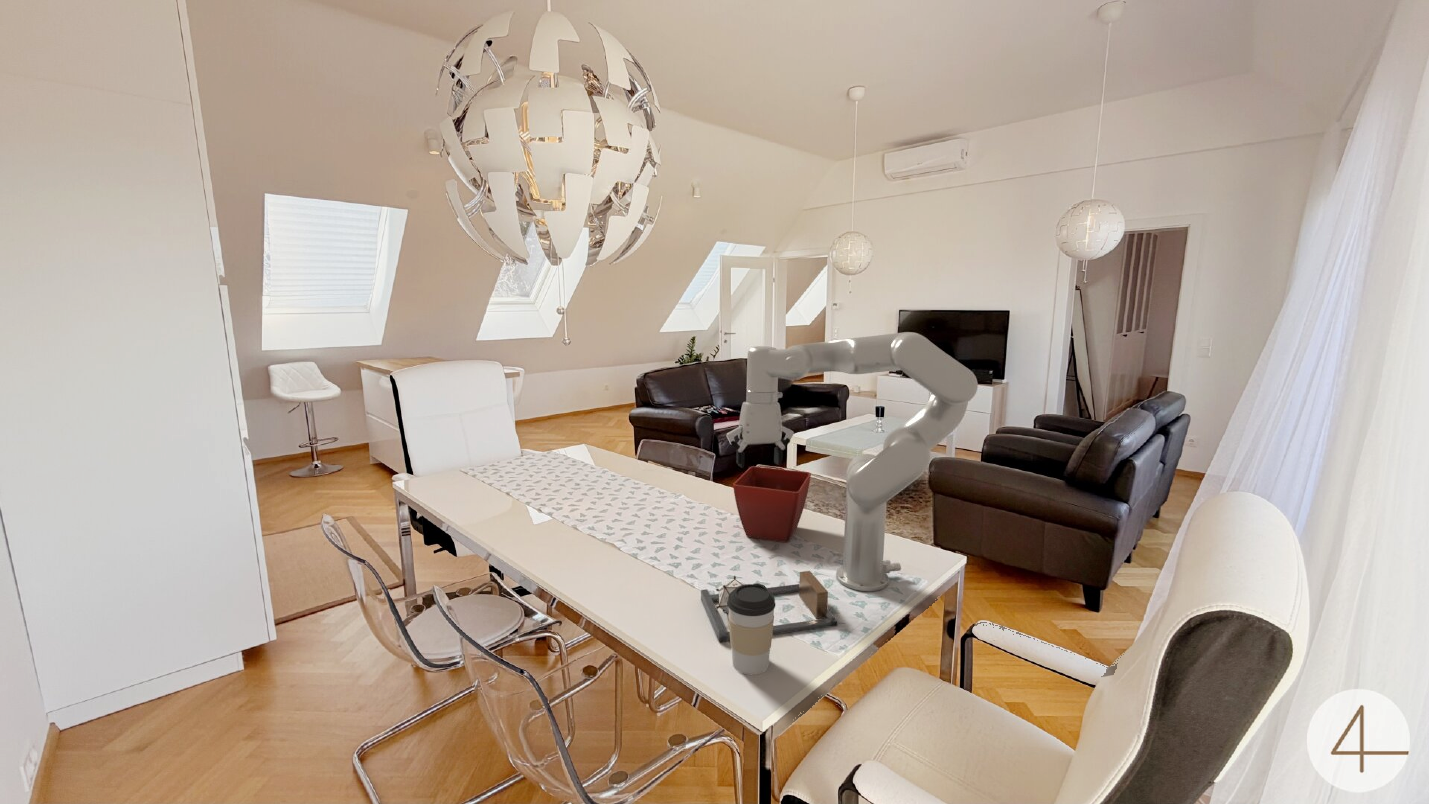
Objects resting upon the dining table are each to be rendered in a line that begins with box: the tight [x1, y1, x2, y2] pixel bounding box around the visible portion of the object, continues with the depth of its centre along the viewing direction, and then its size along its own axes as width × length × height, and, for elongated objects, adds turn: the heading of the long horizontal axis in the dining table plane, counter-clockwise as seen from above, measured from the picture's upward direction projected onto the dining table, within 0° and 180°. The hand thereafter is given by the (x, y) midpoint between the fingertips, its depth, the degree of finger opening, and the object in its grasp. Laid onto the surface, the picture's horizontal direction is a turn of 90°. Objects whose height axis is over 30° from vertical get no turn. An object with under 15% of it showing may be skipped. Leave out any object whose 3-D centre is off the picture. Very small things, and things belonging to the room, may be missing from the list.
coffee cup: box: [727, 582, 776, 676], centre depth 109 cm, size 9×9×15 cm
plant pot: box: [732, 465, 812, 543], centre depth 171 cm, size 19×19×17 cm
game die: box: [715, 575, 744, 615], centre depth 127 cm, size 9×8×10 cm
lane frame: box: [700, 570, 838, 643], centre depth 128 cm, size 26×17×6 cm, turn 104°
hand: (759, 465), depth 144 cm, fingers open, 9 cm apart
